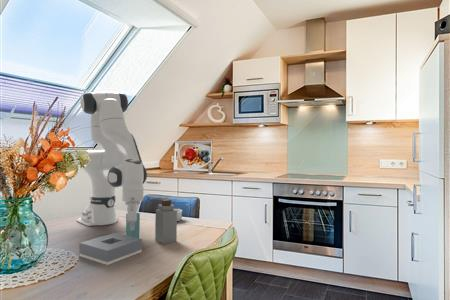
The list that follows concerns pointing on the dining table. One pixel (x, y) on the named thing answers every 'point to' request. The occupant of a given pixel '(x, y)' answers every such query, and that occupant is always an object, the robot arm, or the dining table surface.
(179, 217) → the saucepan
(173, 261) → the dining table surface
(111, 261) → the socket block
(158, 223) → the perfume bottle
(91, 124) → the robot arm
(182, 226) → the dining table surface
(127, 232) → the peg
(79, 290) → the dining table surface
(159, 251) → the dining table surface
